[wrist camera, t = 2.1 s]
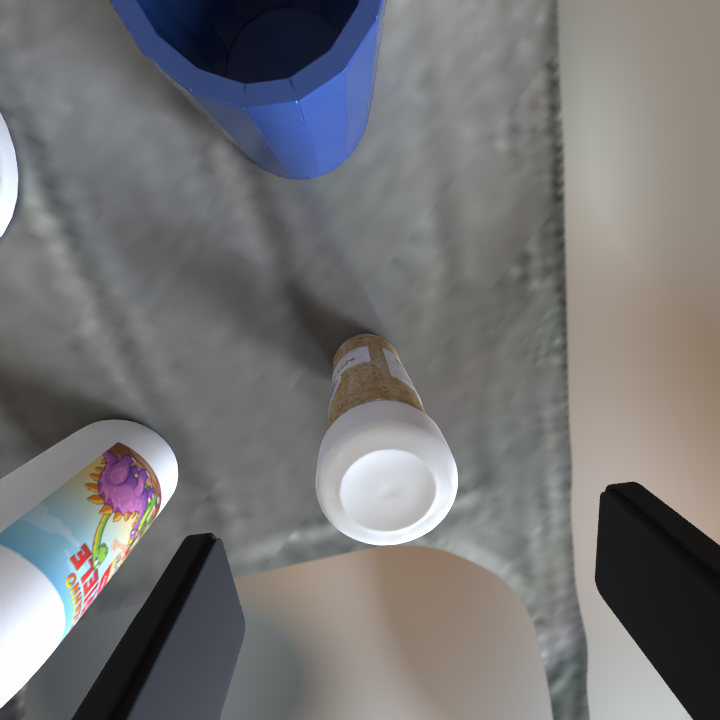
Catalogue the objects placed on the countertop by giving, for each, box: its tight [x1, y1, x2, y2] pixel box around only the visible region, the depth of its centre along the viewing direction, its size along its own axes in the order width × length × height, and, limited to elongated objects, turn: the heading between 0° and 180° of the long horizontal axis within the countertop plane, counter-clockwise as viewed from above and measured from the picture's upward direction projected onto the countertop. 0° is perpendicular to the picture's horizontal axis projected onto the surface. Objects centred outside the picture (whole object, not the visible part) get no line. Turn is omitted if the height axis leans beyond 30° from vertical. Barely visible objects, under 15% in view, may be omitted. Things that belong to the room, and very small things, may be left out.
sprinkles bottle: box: [316, 334, 458, 545], centre depth 17 cm, size 5×5×14 cm
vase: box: [109, 0, 387, 179], centre depth 14 cm, size 8×8×10 cm
